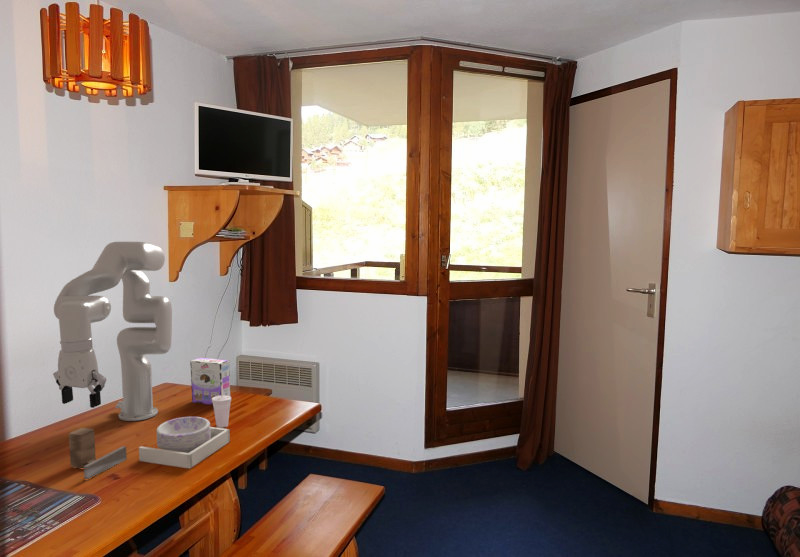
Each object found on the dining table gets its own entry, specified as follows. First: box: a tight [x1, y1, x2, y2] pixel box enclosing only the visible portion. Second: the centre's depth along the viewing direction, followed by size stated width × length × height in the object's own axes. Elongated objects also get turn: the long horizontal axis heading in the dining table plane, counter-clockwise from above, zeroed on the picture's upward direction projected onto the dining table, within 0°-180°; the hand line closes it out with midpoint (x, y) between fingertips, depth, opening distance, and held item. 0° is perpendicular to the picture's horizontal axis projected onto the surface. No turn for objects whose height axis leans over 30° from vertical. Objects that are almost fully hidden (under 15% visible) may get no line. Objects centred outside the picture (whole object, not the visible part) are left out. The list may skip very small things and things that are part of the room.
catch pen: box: [138, 426, 231, 470], centre depth 170 cm, size 17×20×4 cm
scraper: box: [68, 427, 128, 480], centre depth 159 cm, size 11×14×10 cm
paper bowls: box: [156, 416, 211, 453], centre depth 171 cm, size 15×15×8 cm
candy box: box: [189, 357, 231, 406], centre depth 214 cm, size 14×6×16 cm, turn 71°
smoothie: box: [212, 385, 232, 429], centre depth 190 cm, size 6×6×14 cm
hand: (81, 404), depth 159 cm, fingers open, 9 cm apart
